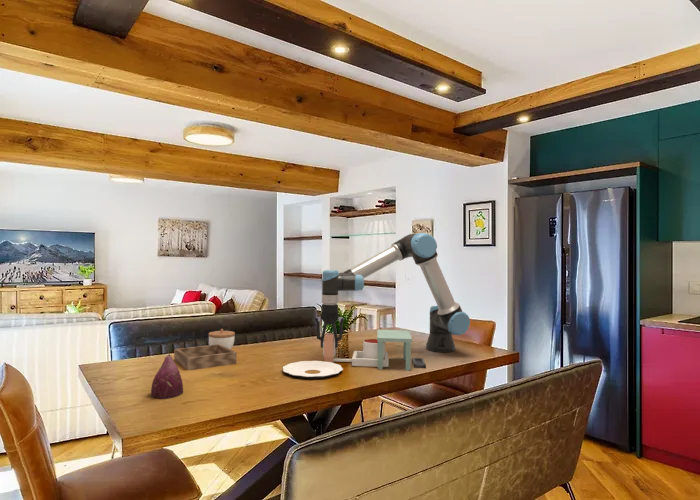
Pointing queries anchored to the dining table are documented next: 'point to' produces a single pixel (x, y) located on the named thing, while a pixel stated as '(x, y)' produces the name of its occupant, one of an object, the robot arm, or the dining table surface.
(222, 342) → the lidded bowl
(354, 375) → the dining table surface
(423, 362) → the pit tray
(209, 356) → the brown wooden tray
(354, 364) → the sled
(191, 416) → the dining table surface
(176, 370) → the vegetable
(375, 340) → the cup
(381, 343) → the mint green stool
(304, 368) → the plate
